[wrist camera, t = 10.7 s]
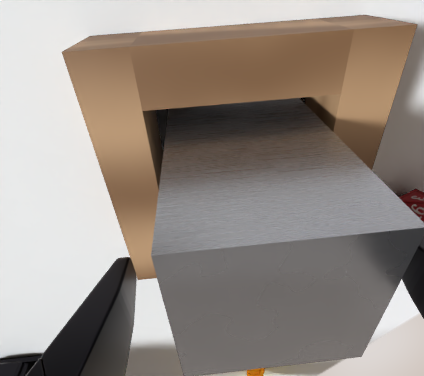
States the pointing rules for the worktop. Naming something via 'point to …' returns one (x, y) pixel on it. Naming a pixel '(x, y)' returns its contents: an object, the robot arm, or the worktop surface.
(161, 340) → the worktop surface
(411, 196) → the dice
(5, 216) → the worktop surface
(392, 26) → the brown wooden square frame
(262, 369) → the toy figure
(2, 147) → the worktop surface
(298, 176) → the steel block
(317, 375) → the worktop surface
